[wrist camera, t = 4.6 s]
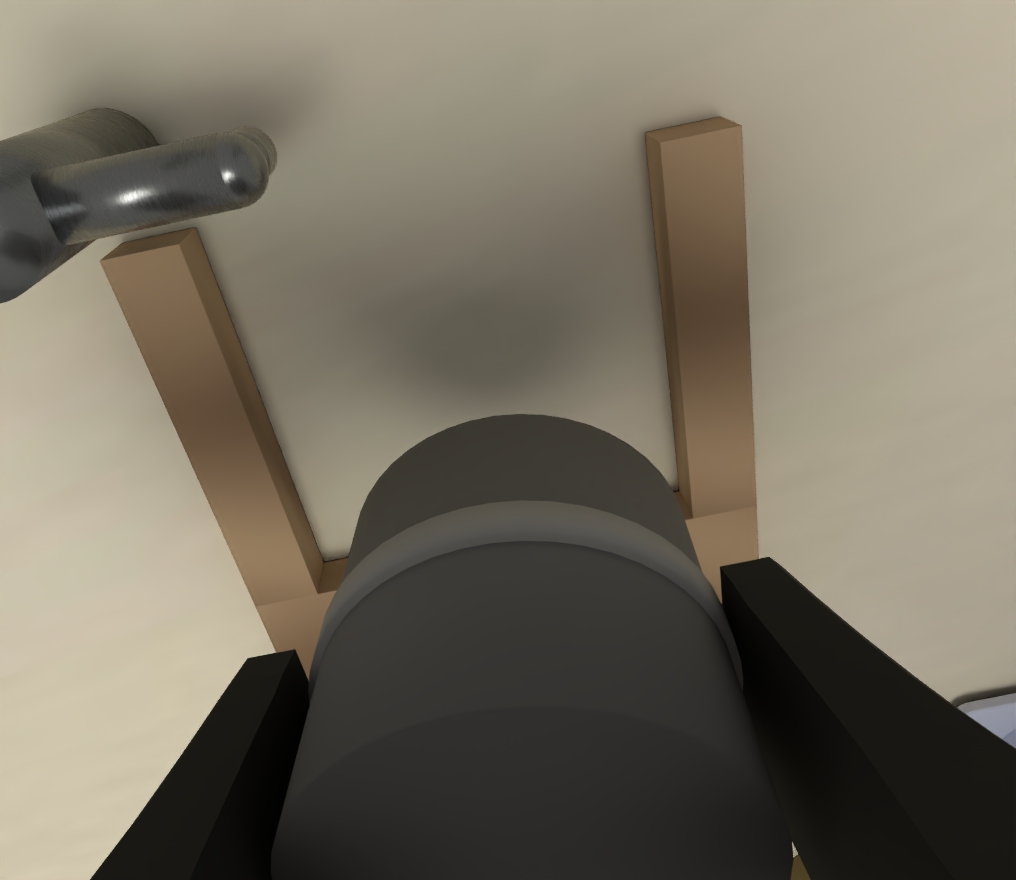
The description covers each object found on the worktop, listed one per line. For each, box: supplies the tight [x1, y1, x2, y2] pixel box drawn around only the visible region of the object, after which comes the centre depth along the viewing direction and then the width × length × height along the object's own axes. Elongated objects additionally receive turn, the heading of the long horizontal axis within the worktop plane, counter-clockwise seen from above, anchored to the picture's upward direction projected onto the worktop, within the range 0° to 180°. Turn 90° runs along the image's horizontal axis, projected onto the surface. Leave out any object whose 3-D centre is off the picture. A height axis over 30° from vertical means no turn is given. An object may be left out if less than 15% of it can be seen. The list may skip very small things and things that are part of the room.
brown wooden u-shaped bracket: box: [100, 117, 759, 680], centre depth 19 cm, size 14×12×1 cm
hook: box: [0, 109, 277, 303], centre depth 13 cm, size 2×5×6 cm, turn 101°
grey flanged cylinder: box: [271, 414, 793, 880], centre depth 10 cm, size 5×5×5 cm
